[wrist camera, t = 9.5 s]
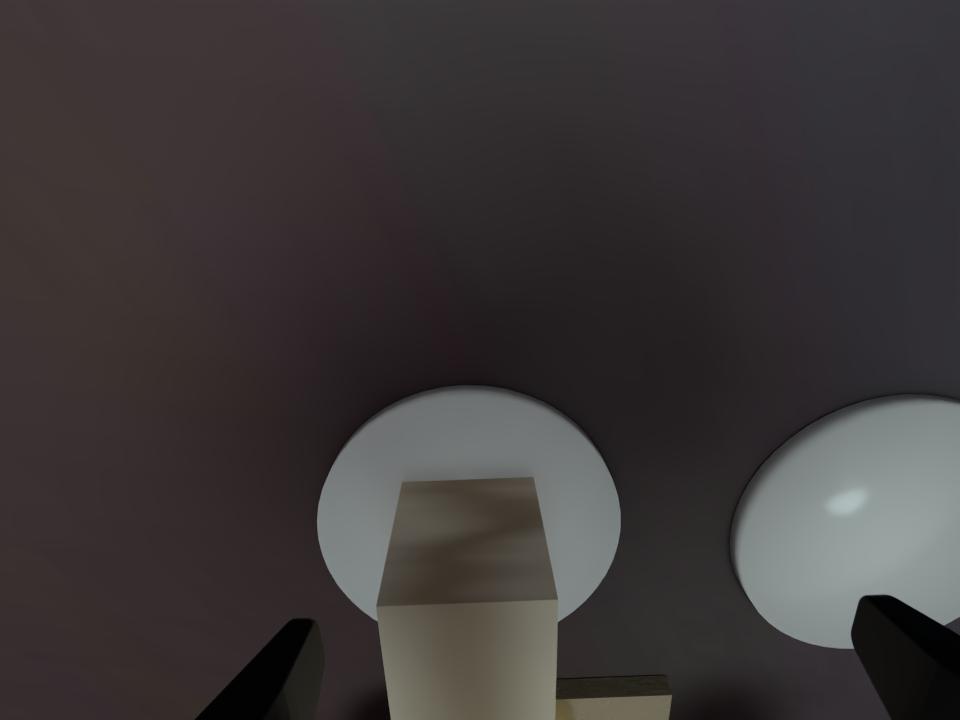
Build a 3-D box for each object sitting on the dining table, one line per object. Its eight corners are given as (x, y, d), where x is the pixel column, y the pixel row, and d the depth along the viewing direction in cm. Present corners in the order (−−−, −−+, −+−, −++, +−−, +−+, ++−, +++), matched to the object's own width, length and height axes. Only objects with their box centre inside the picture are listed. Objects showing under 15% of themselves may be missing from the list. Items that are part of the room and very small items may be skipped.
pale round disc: (623, 379, 20) (631, 390, 19) (606, 622, 24) (611, 640, 23) (303, 390, 20) (295, 401, 19) (342, 631, 24) (337, 651, 23)
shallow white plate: (1064, 388, 20) (1092, 399, 19) (970, 625, 25) (990, 643, 24) (752, 398, 20) (766, 410, 19) (712, 634, 24) (722, 653, 24)
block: (533, 476, 20) (558, 599, 14) (533, 580, 22) (555, 725, 16) (402, 481, 20) (375, 606, 14) (412, 584, 22) (392, 731, 16)
